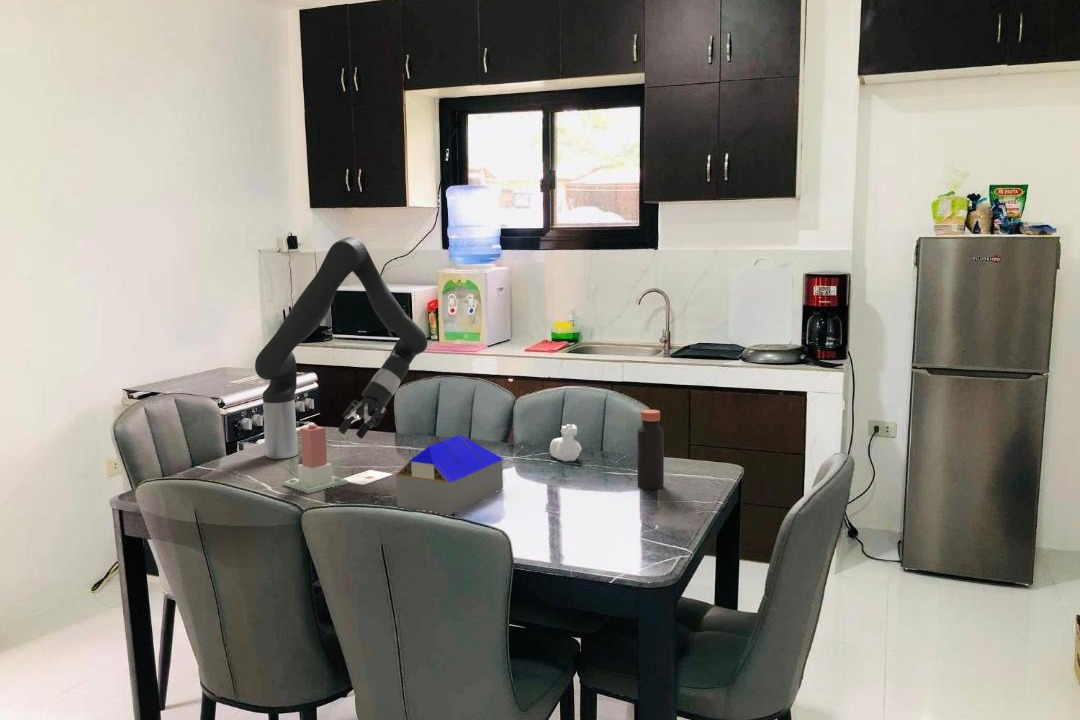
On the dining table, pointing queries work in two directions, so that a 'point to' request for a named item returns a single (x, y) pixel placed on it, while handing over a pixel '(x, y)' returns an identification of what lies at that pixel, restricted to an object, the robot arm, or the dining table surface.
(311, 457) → the tall brick
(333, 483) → the tower base
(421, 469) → the house
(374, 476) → the page
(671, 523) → the dining table surface
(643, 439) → the bottle
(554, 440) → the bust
